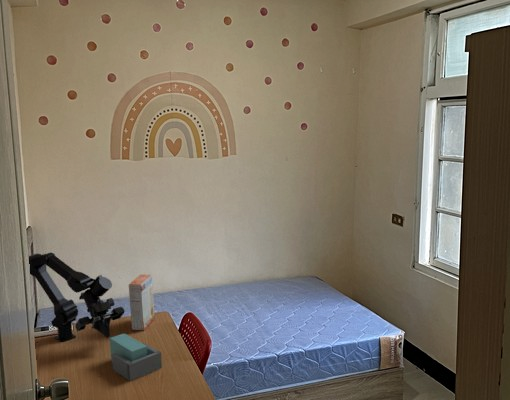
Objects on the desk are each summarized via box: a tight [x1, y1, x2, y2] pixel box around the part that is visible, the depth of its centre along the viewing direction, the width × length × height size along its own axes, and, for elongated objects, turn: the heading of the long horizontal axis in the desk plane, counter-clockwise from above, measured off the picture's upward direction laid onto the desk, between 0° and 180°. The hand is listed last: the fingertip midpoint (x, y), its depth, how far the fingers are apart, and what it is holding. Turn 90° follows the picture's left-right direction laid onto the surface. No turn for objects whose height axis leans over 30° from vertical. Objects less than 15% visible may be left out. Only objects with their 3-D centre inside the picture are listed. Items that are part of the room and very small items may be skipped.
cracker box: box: [128, 274, 155, 331], centre depth 219 cm, size 14×6×21 cm, turn 172°
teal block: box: [109, 333, 147, 362], centre depth 183 cm, size 16×6×9 cm, turn 44°
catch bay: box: [111, 342, 163, 382], centre depth 180 cm, size 12×13×6 cm
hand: (108, 337), depth 193 cm, fingers closed
